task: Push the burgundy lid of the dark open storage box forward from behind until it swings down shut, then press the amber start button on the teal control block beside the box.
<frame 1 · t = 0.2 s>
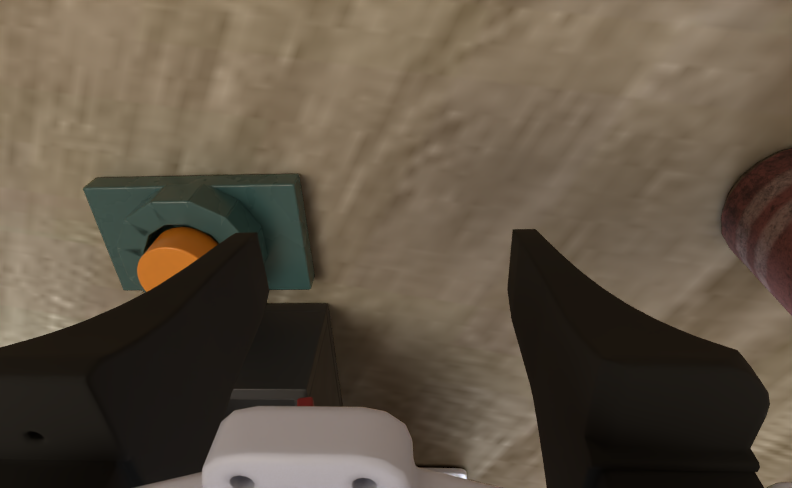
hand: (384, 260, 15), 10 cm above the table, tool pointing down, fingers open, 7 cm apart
start button: (183, 268, 23), point 3 cm above the table, slide at 0.1 cm
dark open storage box: (256, 381, 32), on the table
control block: (210, 229, 26), on the table
can: (780, 201, 24), on the table
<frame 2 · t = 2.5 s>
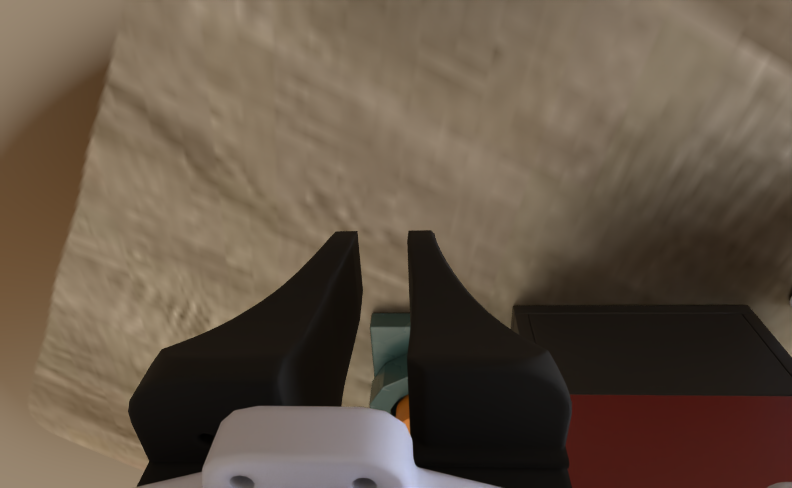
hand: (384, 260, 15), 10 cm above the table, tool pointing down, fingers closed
start button: (426, 423, 29), point 3 cm above the table, slide at 0.1 cm
dark open storage box: (611, 373, 31), on the table
control block: (426, 376, 32), on the table
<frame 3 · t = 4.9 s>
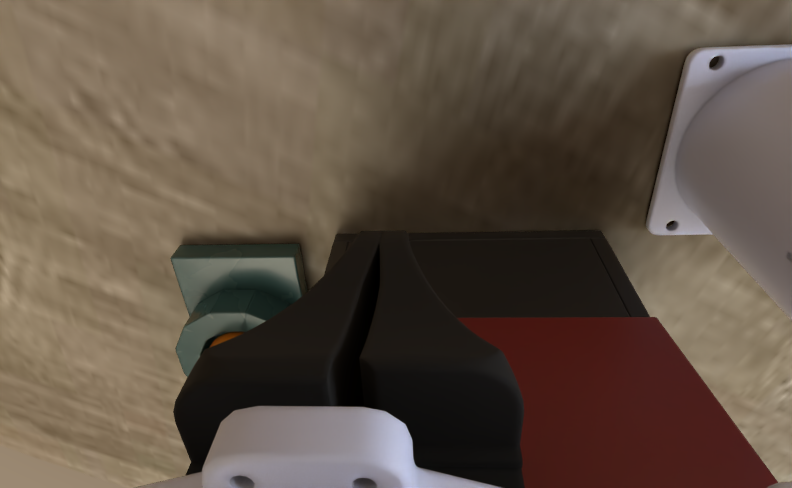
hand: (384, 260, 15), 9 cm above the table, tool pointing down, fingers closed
lid: (497, 443, 14), point 12 cm above the table, hinge at 97.5°, touching gripper
start button: (238, 370, 25), point 3 cm above the table, slide at 0.1 cm
dark open storage box: (463, 317, 27), on the table
control block: (258, 322, 28), on the table
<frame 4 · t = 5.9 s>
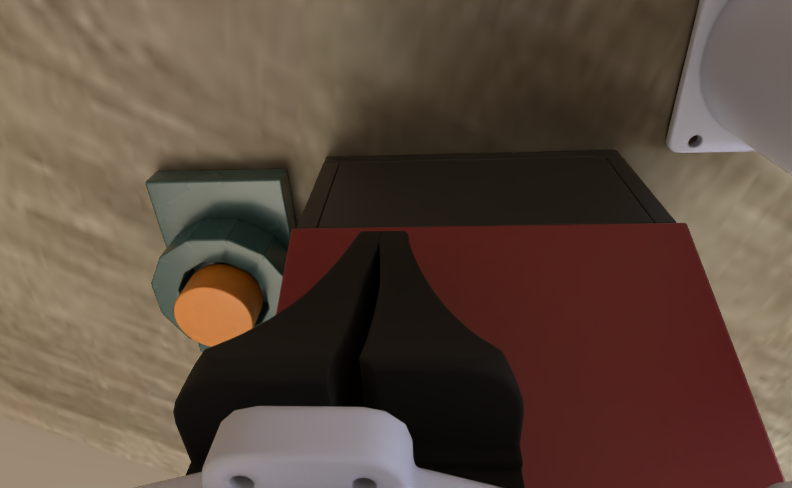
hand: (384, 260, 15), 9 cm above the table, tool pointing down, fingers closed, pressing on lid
lid: (498, 403, 13), point 12 cm above the table, hinge at 68.0°, touching gripper
start button: (220, 306, 23), point 3 cm above the table, slide at 0.1 cm
dark open storage box: (465, 254, 25), on the table
control block: (243, 261, 26), on the table
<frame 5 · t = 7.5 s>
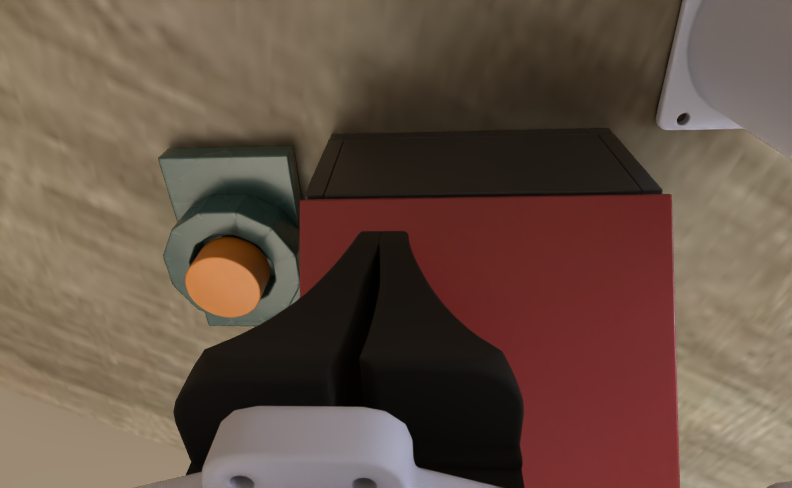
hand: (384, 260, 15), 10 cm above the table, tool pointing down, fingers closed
lid: (482, 363, 18), point 10 cm above the table, hinge at 34.2°
start button: (229, 277, 24), point 3 cm above the table, slide at 0.1 cm
dark open storage box: (464, 230, 26), on the table
control block: (250, 237, 27), on the table
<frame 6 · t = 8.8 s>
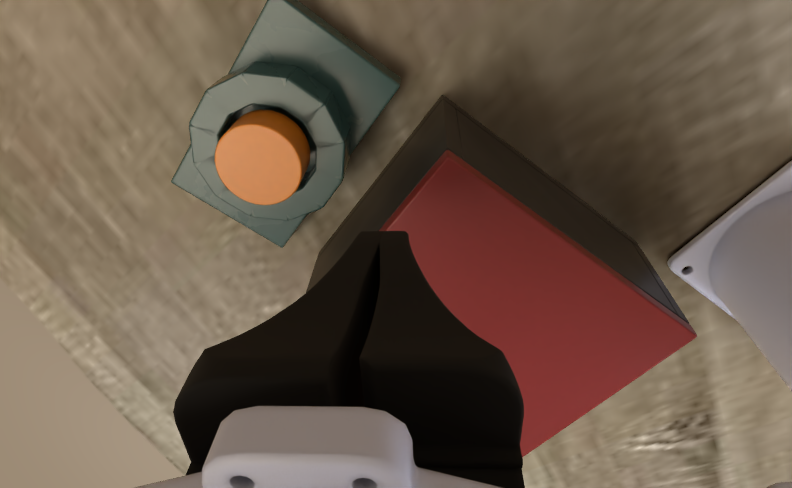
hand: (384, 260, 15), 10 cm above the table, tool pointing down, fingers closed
lid: (479, 340, 21), point 7 cm above the table, hinge at -0.3°
start button: (264, 157, 21), point 3 cm above the table, slide at 0.1 cm
dark open storage box: (473, 247, 27), on the table
control block: (284, 127, 24), on the table
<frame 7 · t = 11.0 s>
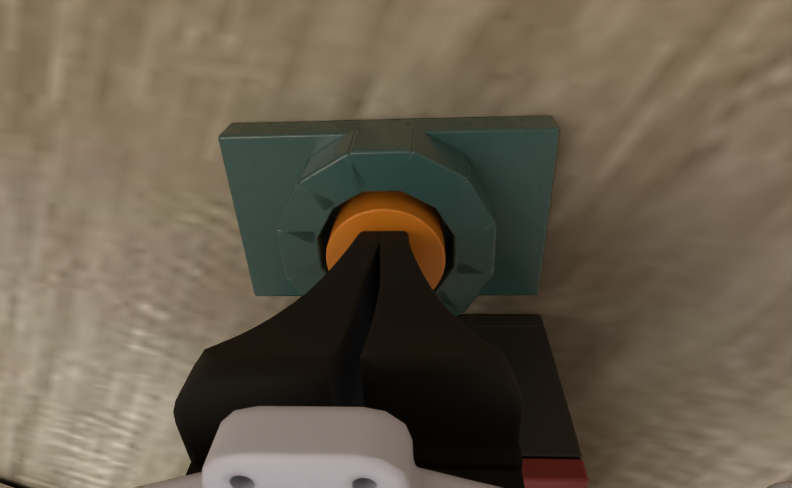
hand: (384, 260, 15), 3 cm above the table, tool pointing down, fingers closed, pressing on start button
start button: (387, 245, 15), point 3 cm above the table, slide at -0.8 cm, touching gripper
dark open storage box: (409, 420, 23), on the table
control block: (392, 204, 18), on the table
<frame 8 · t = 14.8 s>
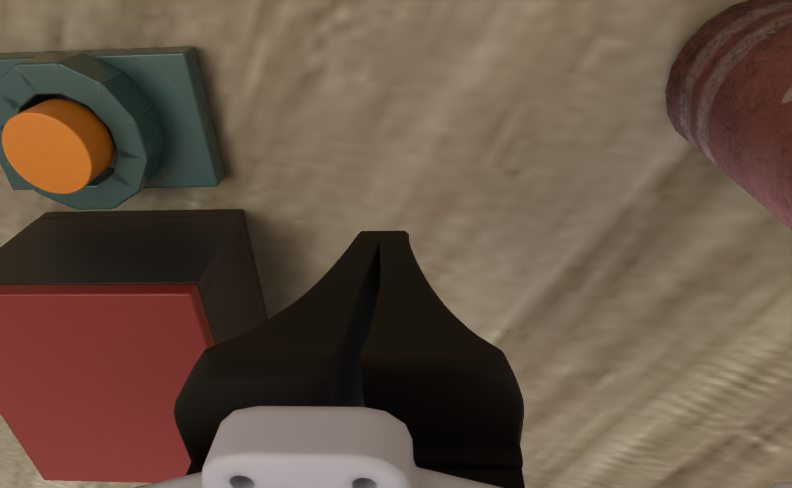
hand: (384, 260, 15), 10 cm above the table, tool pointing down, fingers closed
lid: (109, 395, 24), point 7 cm above the table, hinge at -0.3°
start button: (60, 146, 21), point 3 cm above the table, slide at 0.1 cm
dark open storage box: (175, 306, 30), on the table
control block: (105, 118, 24), on the table
can: (732, 77, 22), on the table
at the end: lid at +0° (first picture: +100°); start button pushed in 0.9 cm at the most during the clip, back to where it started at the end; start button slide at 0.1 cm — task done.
